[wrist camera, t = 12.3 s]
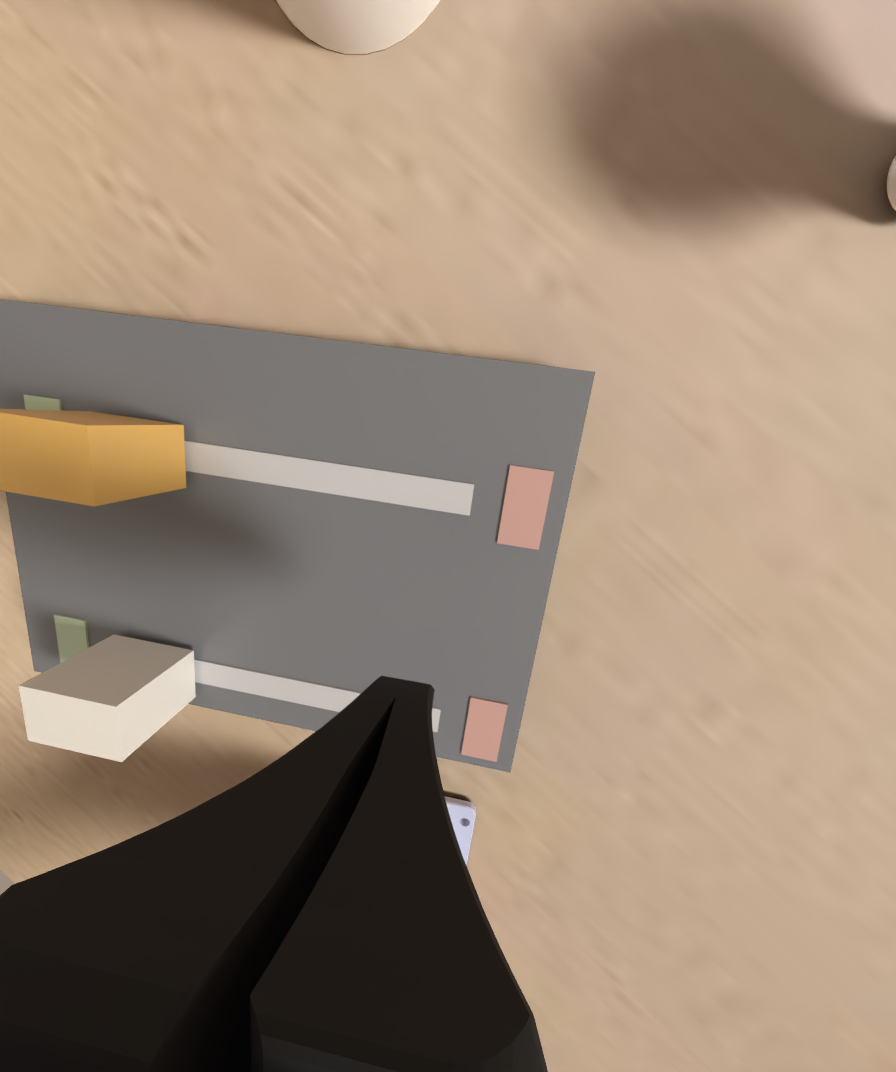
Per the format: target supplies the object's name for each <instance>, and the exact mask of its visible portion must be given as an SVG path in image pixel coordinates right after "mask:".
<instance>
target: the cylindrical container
mask: <svg viewBox="0 0 896 1072" xmlns="http://www.w3.org/2000/svg"><path fill="white" fill-rule="evenodd" d="M276 1H277V3H278V4H279V6H280V8H281V9H282V10H283V12H284V13H285V15H286V16H287V17H288V19H289V20H290V21H291V23H292V24H293V25H294V26H295V27H296V28H297V29H298V30H300V31H301V32H302V33H303V34H304V35H305V36H306V37H307V38H309V39H310V40H312V41H314V42H315V43H317V44H319V45H320V46H322V47H324V48H326V49H330V50H333V51H336V52H340V53H343V54H368V53H372V52H376V51H380V50H384V49H386V48H388V47H390V46H392V45H394V44H396V43H398V42H399V41H401V40H403V39H405V38H406V37H407V36H408V35H410V34H411V33H412V32H413V31H414V30H416V29H417V28H418V27H419V26H420V25H421V24H422V23H423V22H424V21H425V20H426V18H427V17H428V16H429V15H430V14H431V12H432V11H433V10H434V9H435V8H436V6H437V5H438V3H439V1H440V0H276Z"/></svg>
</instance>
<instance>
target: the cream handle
mask: <svg viewBox="0 0 896 1072" xmlns="http://www.w3.org/2000/svg"><path fill="white" fill-rule="evenodd" d="M19 691H20V696H21V702H22V708H23V714H24V720H25V726H26V731H27V737H28V741H32V742H36V743H40V744H45V745H49V746H53V747H58V748H62V749H66V750H71V751H75V752H79V753H84V754H88V755H92V756H97V757H101V758H105V759H110V760H114V761H118V762H123V761H124V760H125V759H126V758H127V757H128V756H129V755H130V754H132V753H133V752H134V751H135V750H136V749H137V748H138V747H140V746H141V745H142V744H143V743H144V742H145V741H146V740H147V739H149V738H150V737H151V736H152V735H153V734H154V733H155V732H157V731H158V730H159V729H160V728H161V727H162V726H163V725H164V724H166V723H167V722H168V721H169V720H170V719H171V718H172V717H174V716H175V715H176V714H177V713H178V712H179V711H180V710H181V709H183V708H184V707H185V706H186V705H187V704H188V703H189V702H191V701H192V700H193V699H194V698H195V697H196V695H195V669H194V650H189V649H184V648H179V647H174V646H169V645H164V644H159V643H154V642H149V641H145V640H140V639H135V638H130V637H125V636H120V635H115V634H114V635H112V636H110V637H108V638H106V639H104V640H102V641H101V642H99V643H97V644H95V645H93V646H91V647H89V648H88V649H86V650H84V651H82V652H80V653H78V654H76V655H75V656H73V657H71V658H69V659H67V660H65V661H63V662H62V663H60V664H58V665H56V666H54V667H52V668H50V669H49V670H47V671H45V672H43V673H41V674H39V675H37V676H36V677H34V678H32V679H30V680H28V681H26V682H24V683H23V684H21V685H19Z"/></svg>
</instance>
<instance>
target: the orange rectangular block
mask: <svg viewBox="0 0 896 1072" xmlns="http://www.w3.org/2000/svg"><path fill="white" fill-rule="evenodd" d="M183 488H186V469H185V444H184V425H181V424H174V423H168V422H161V421H154V420H147V419H140V418H134V417H127V416H120V415H113V414H106V413H100V412H93V411H64V410H27V409H0V491H6V492H12V493H18V494H24V495H30V496H36V497H42V498H47V499H53V500H59V501H65V502H71V503H77V504H83V505H89V506H94V507H95V506H100V505H105V504H110V503H114V502H119V501H124V500H129V499H134V498H139V497H144V496H149V495H154V494H159V493H164V492H168V491H173V490H178V489H183Z"/></svg>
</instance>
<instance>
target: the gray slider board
mask: <svg viewBox="0 0 896 1072" xmlns="http://www.w3.org/2000/svg"><path fill="white" fill-rule="evenodd" d="M594 375H595V372H592V371H584V370H576V369H567V368H559V367H551V366H543V365H535V364H526V363H518V362H510V361H502V360H494V359H486V358H477V357H469V356H461V355H453V354H445V353H437V352H428V351H420V350H412V349H404V348H396V347H387V346H379V345H371V344H363V343H355V342H347V341H338V340H330V339H322V338H314V337H306V336H298V335H289V334H281V333H273V332H265V331H257V330H248V329H240V328H232V327H224V326H216V325H208V324H199V323H191V322H183V321H175V320H167V319H159V318H150V317H142V316H134V315H126V314H118V313H109V312H101V311H93V310H85V309H77V308H69V307H60V306H52V305H44V304H36V303H28V302H20V301H11V300H3V299H0V409H27V410H64V411H93V412H100V413H106V414H113V415H120V416H127V417H134V418H140V419H147V420H154V421H161V422H168V423H174V424H181V425H184V444H185V469H186V488H183V489H178V490H173V491H168V492H164V493H159V494H154V495H149V496H144V497H139V498H134V499H129V500H124V501H119V502H114V503H110V504H105V505H100V506H95V507H94V506H89V505H83V504H77V503H71V502H65V501H59V500H53V499H47V498H42V497H36V496H30V495H24V494H18V493H12V492H6V496H7V502H8V508H9V515H10V521H11V527H12V534H13V540H14V546H15V553H16V559H17V565H18V572H19V578H20V584H21V591H22V597H23V603H24V609H25V616H26V622H27V628H28V635H29V641H30V647H31V654H32V660H33V666H34V671H37V672H42V673H43V672H45V671H47V670H49V669H50V668H52V667H54V666H56V665H58V664H60V663H62V662H63V661H65V660H67V659H69V658H71V657H73V656H75V655H76V654H78V653H80V652H82V651H84V650H86V649H88V648H89V647H91V646H93V645H95V644H97V643H99V642H101V641H102V640H104V639H106V638H108V637H110V636H112V635H114V634H115V635H120V636H125V637H130V638H135V639H140V640H145V641H149V642H154V643H159V644H164V645H169V646H174V647H179V648H184V649H189V650H194V669H195V695H196V697H195V698H194V699H193V700H192V701H191V702H189V703H188V704H192V705H196V706H201V707H206V708H210V709H215V710H220V711H224V712H229V713H234V714H238V715H243V716H248V717H252V718H257V719H262V720H267V721H271V722H276V723H281V724H285V725H290V726H295V727H299V728H304V729H309V730H313V731H317V730H319V729H320V728H321V727H322V726H324V725H325V724H326V723H327V722H328V721H330V720H331V719H332V718H333V717H334V716H336V715H337V714H338V713H339V712H340V711H342V710H343V709H344V708H345V707H346V706H347V705H349V704H350V703H351V702H352V701H353V700H354V699H355V698H357V697H358V696H359V695H360V694H361V693H362V692H363V691H364V690H365V689H366V688H367V687H369V686H370V685H371V684H372V683H373V682H374V681H375V680H376V679H377V678H379V677H380V676H387V677H393V678H398V679H404V680H409V681H415V682H420V683H426V684H431V685H432V687H433V688H434V689H435V691H434V699H433V707H432V729H433V738H434V745H435V753H436V757H440V758H445V759H449V760H454V761H459V762H463V763H468V764H473V765H477V766H482V767H487V768H492V769H496V770H501V771H506V772H510V771H511V766H512V762H513V757H514V752H515V748H516V743H517V738H518V733H519V729H520V724H521V719H522V715H523V710H524V705H525V700H526V696H527V691H528V686H529V681H530V677H531V672H532V667H533V663H534V658H535V653H536V648H537V644H538V639H539V634H540V630H541V625H542V620H543V615H544V611H545V606H546V601H547V597H548V592H549V587H550V582H551V578H552V573H553V568H554V563H555V559H556V554H557V549H558V545H559V540H560V535H561V530H562V526H563V521H564V516H565V512H566V507H567V502H568V497H569V493H570V488H571V483H572V479H573V474H574V469H575V464H576V460H577V455H578V450H579V445H580V441H581V436H582V431H583V427H584V422H585V417H586V412H587V408H588V403H589V398H590V394H591V389H592V384H593V379H594Z"/></svg>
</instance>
